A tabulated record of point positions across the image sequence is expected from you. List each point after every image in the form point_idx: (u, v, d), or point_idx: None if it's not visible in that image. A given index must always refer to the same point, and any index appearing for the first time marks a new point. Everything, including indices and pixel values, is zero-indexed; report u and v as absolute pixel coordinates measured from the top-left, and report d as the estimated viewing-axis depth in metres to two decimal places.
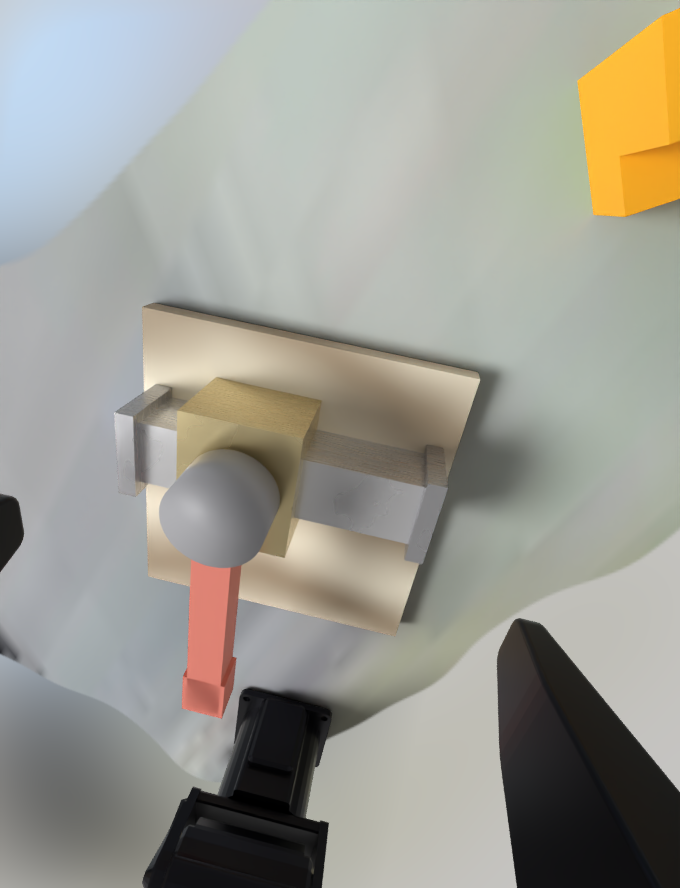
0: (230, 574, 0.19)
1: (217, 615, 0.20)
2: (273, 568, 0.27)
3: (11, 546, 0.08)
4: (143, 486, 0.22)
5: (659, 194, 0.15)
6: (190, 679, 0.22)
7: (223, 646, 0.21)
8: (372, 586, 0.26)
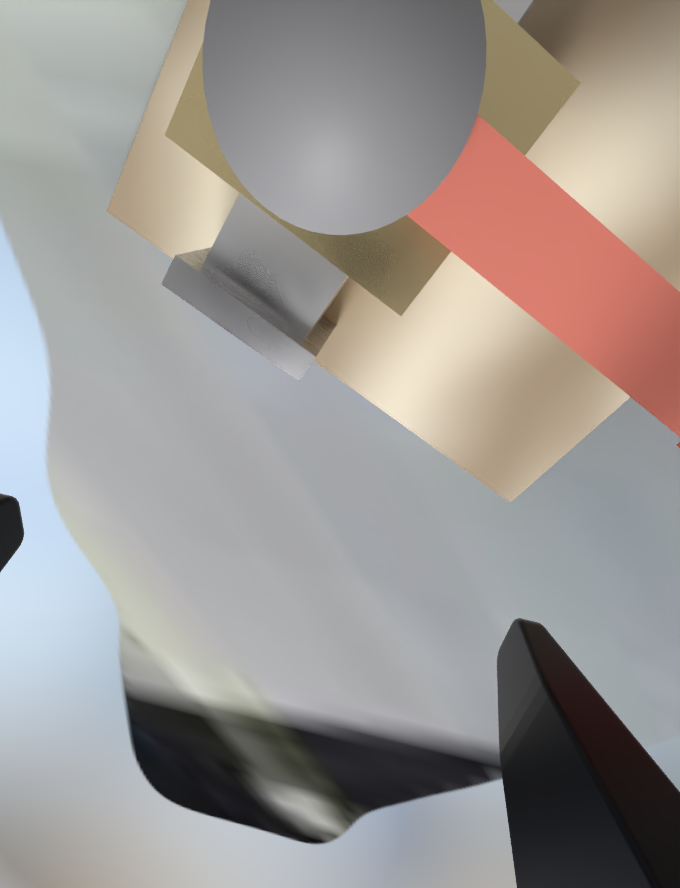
0: (507, 142, 0.07)
1: (604, 264, 0.07)
2: None
3: (11, 546, 0.08)
4: (316, 346, 0.12)
5: None
6: None
7: None
8: None
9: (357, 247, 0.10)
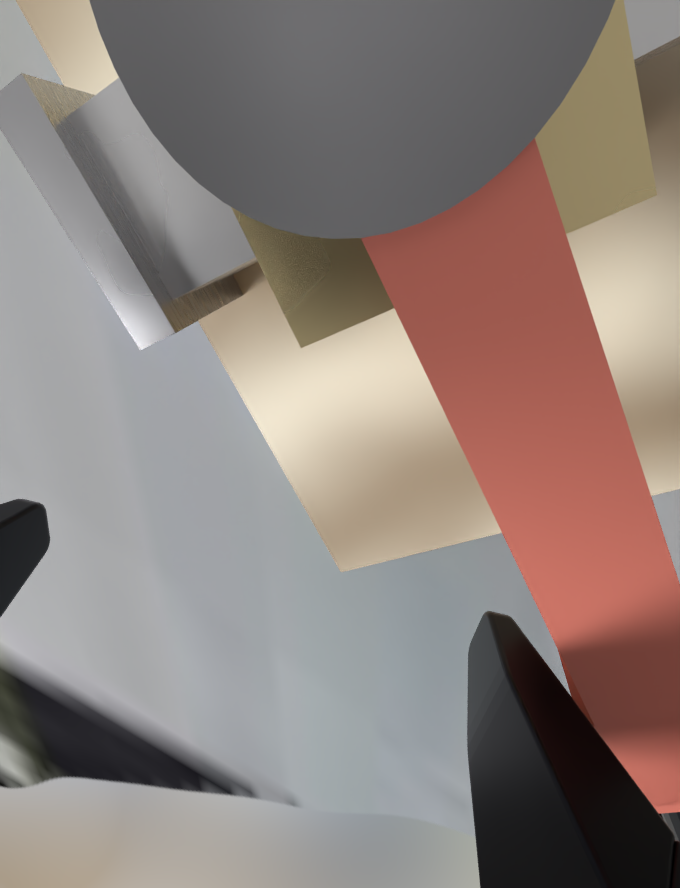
0: (555, 208, 0.04)
1: (591, 447, 0.05)
2: None
3: (38, 552, 0.08)
4: (188, 316, 0.09)
5: None
6: (608, 727, 0.07)
7: (669, 563, 0.06)
8: None
9: None
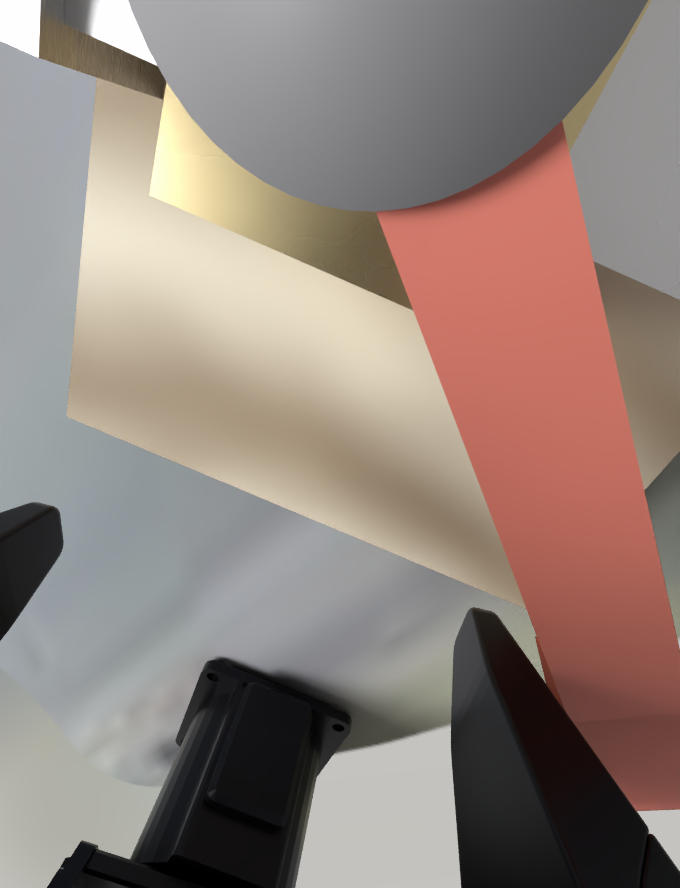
0: (576, 196, 0.04)
1: (591, 443, 0.05)
2: (336, 435, 0.13)
3: (52, 556, 0.08)
4: (71, 57, 0.07)
5: None
6: (582, 724, 0.07)
7: (657, 564, 0.06)
8: None
9: None
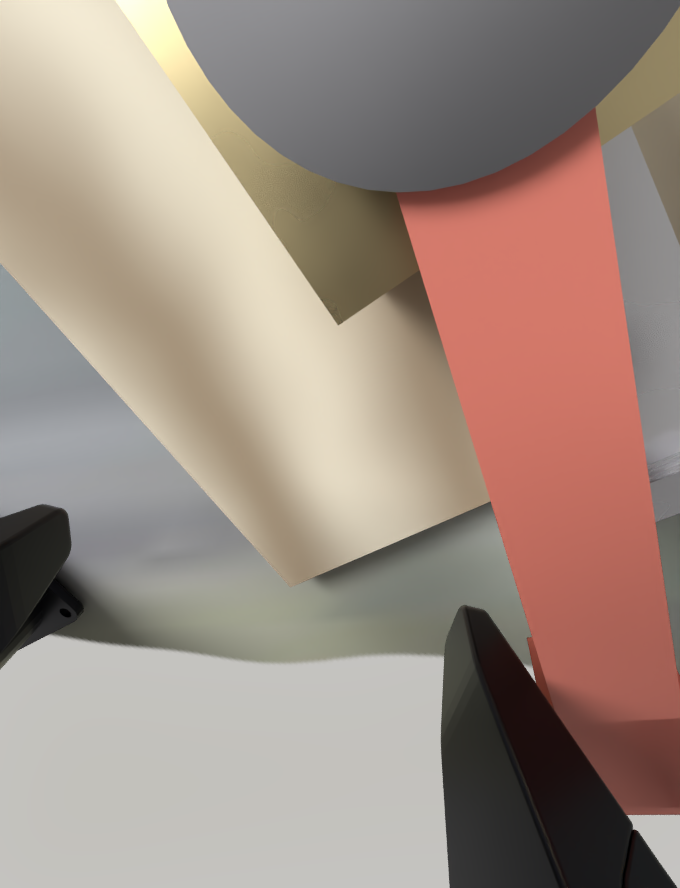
0: (603, 188, 0.04)
1: (601, 444, 0.05)
2: (196, 348, 0.12)
3: (60, 558, 0.08)
4: None
5: None
6: (572, 727, 0.07)
7: (658, 570, 0.06)
8: (336, 501, 0.14)
9: None
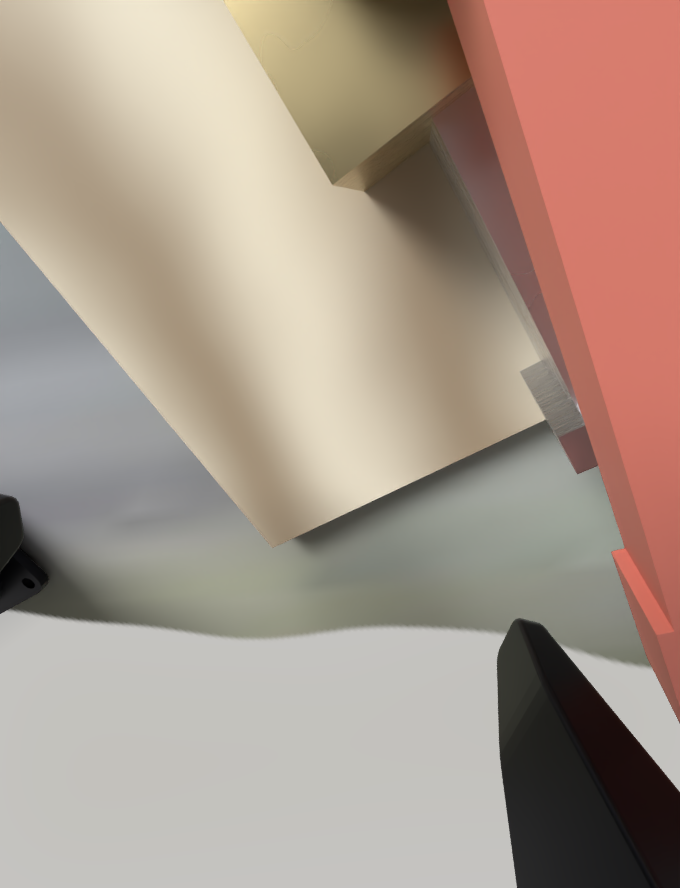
0: None
1: None
2: (174, 271, 0.11)
3: (11, 546, 0.08)
4: None
5: None
6: None
7: None
8: (324, 448, 0.13)
9: None
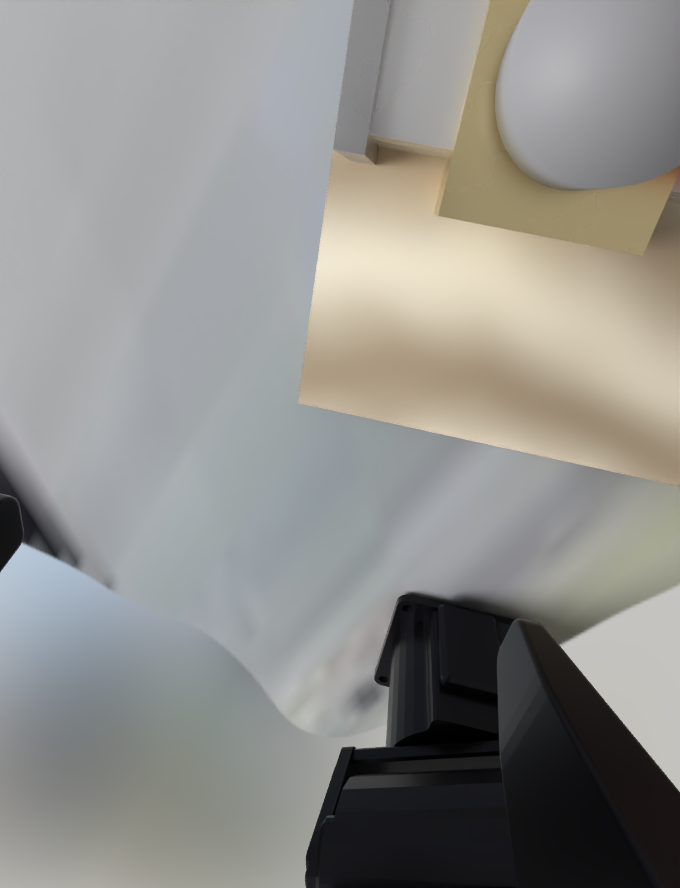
0: None
1: None
2: (506, 372, 0.17)
3: (11, 546, 0.08)
4: (368, 151, 0.12)
5: None
6: None
7: None
8: (668, 394, 0.17)
9: (480, 144, 0.11)
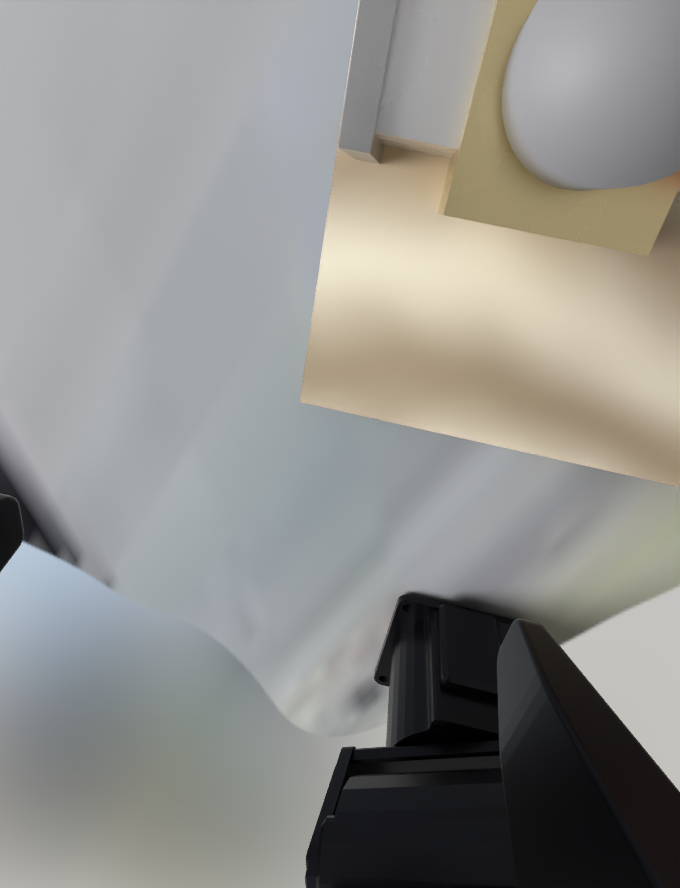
0: None
1: None
2: (508, 373, 0.17)
3: (11, 546, 0.08)
4: (373, 149, 0.12)
5: None
6: None
7: None
8: (670, 395, 0.17)
9: (487, 143, 0.11)
